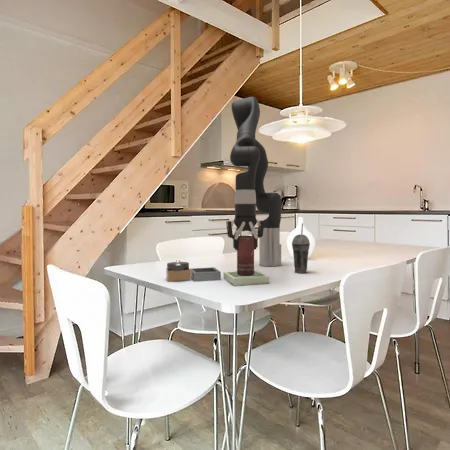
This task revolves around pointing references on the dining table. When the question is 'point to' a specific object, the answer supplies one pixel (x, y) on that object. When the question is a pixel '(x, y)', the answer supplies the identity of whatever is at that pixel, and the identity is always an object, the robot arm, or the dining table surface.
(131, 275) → the dining table surface
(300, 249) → the beverage cup
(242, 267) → the can
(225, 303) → the dining table surface
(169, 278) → the brown and grey dock
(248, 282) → the tray
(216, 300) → the dining table surface
